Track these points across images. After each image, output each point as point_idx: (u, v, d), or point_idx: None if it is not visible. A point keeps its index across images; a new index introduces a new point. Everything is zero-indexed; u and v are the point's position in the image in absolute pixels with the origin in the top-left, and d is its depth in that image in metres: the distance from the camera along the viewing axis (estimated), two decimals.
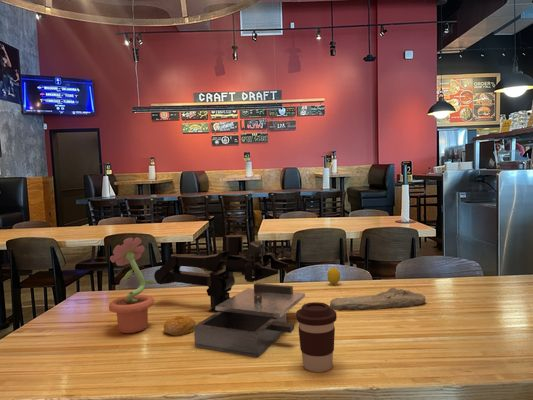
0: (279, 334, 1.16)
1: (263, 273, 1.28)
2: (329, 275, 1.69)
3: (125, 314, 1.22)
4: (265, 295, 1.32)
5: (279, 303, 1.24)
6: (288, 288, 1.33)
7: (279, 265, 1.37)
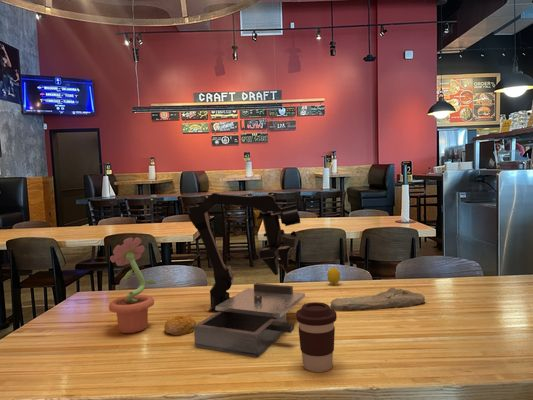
0: (279, 334, 1.16)
1: (270, 262, 1.36)
2: (329, 275, 1.69)
3: (125, 314, 1.22)
4: (265, 295, 1.32)
5: (279, 303, 1.24)
6: (288, 288, 1.33)
7: (283, 259, 1.46)
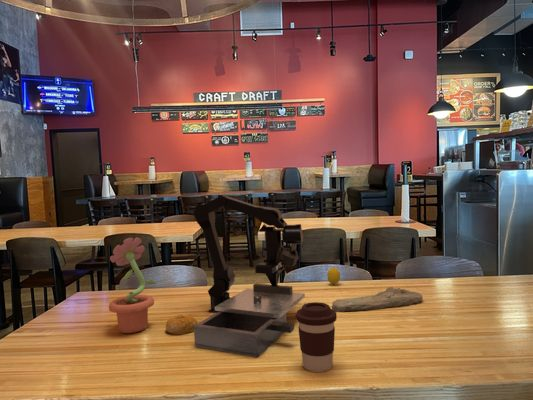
0: (279, 334, 1.16)
1: (271, 275, 1.37)
2: (329, 275, 1.69)
3: (125, 314, 1.22)
4: (265, 296, 1.32)
5: (278, 303, 1.23)
6: (288, 288, 1.33)
7: None
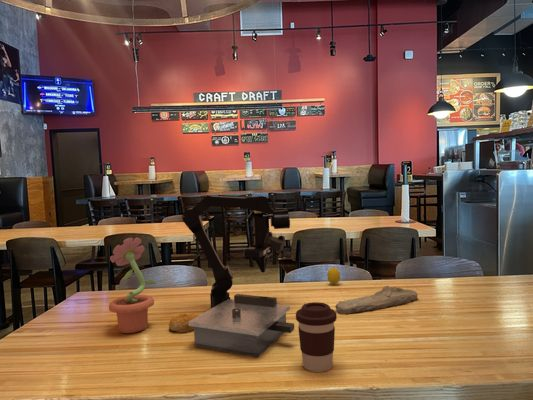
0: (279, 334, 1.16)
1: (259, 259, 1.42)
2: (329, 275, 1.69)
3: (125, 314, 1.22)
4: (246, 308, 1.20)
5: (259, 318, 1.11)
6: (271, 300, 1.20)
7: None
